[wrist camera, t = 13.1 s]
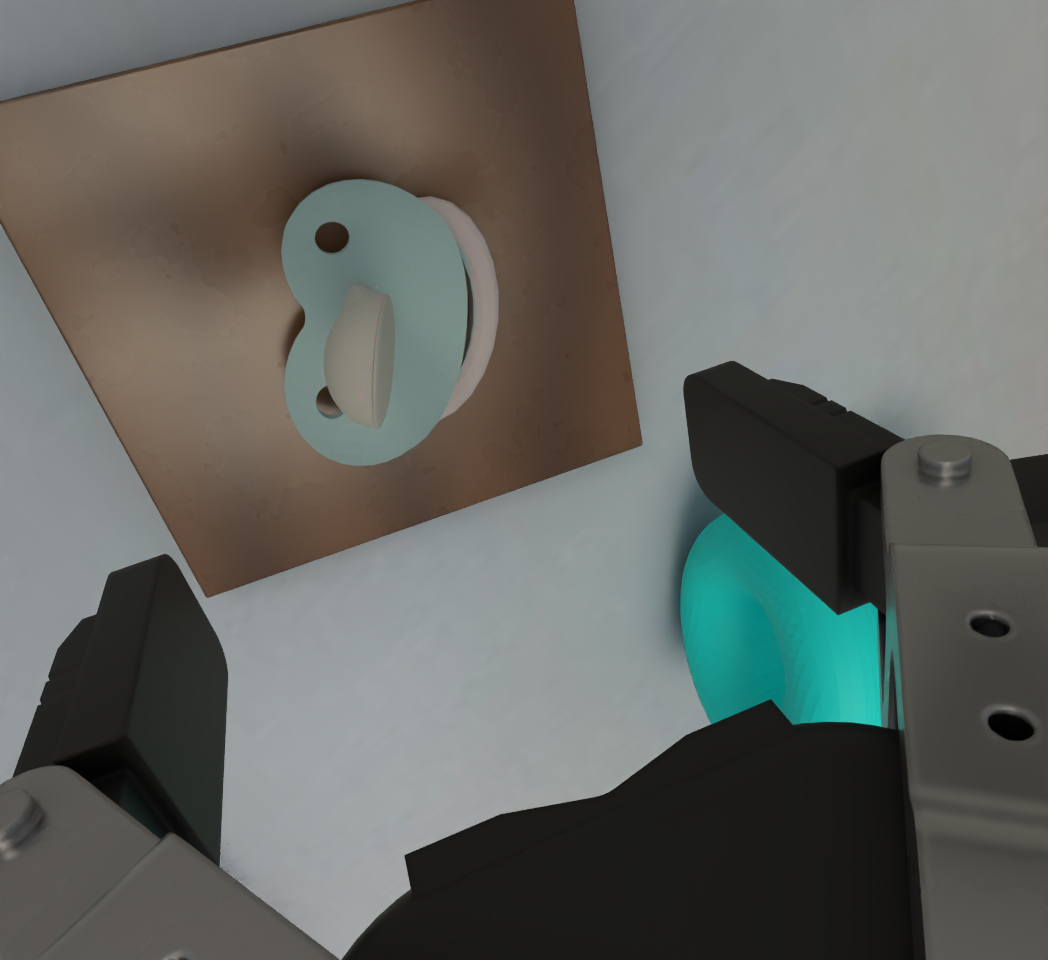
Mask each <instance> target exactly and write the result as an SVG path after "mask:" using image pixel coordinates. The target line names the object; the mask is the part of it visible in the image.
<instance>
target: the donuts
mask: <svg viewBox="0 0 1048 960" xmlns="http://www.w3.org/2000/svg"><path fill="white" fill-rule="evenodd" d="M680 618H681V629H682V637H683V641H684V649H685V653H686V657H687V662H688V665H689V669H690V673H691V676H692V679H693V683H694V686H695V688H696V690H697V693H698V697H699V699H700V701H701V704H702V706H703V707H704V710H705V712H706V715H707V717H708V719H709V721H710V723H711V724H714V723H716V722H718V721H721V720H723V719H725V718H728V717H730V716H732V715H735V714H737V713H739V712H742V711H744V710H746V709H749V708H751V707H753V706H756V705H758V704H760V703H763V702H765V701H767V700H770V699H771V700H772V701H773V702H774V703H775V704H776V706H777V707H778V708H779V709H780V710H781V711H782V713H783V714H784V715H785V716H786V717H787V718H788V720H789V721H790V722H791V723H792V724H793V725H795V724H801V723H814V722H853V723H861V724H869V725H876V726H880V727H881V712H880V689H879V667H878V644H877V608H876V607H875V606H874V605H873V604H871V603H870V602H869V603H867V604H864V605H862V606H860V607H857V608H855V609H852V610H850V611H848V612H845V613H843V614H840V615H837V614H836V613H835V612H834V611H832V610H831V609H830V608H829V607H828V606H827V605H826V604H825V603H824V602H822V601H821V600H820V599H819V598H818V597H817V596H816V595H815V594H814V593H812V592H811V591H810V590H809V589H808V588H807V587H806V586H805V585H804V584H802V583H801V582H800V581H799V580H798V579H797V578H796V577H795V576H794V575H792V574H791V573H790V572H789V571H788V570H787V569H786V568H785V567H784V566H782V565H781V564H780V563H779V562H778V561H777V560H776V559H775V558H774V557H772V556H771V555H770V554H769V553H768V552H767V551H766V550H765V549H764V548H762V547H761V546H760V545H759V544H758V543H757V542H756V541H755V540H754V539H752V538H751V537H750V536H749V535H748V534H747V533H746V532H745V531H744V530H742V529H741V528H740V527H739V526H738V525H737V524H736V523H735V522H734V521H732V520H731V519H730V518H729V517H728V516H727V515H726V514H725V513H724V514H722V515H720V516H719V517H717V518H716V519H714V520H713V521H712V522H711V523H710V524H708V525H707V526H706V527H705V529H704V530H703V531H702V532H701V533H700V534H699V536H698V537H697V539H696V541H695V542H694V544H693V546H692V548H691V550H690V553H689V555H688V558H687V561H686V564H685V567H684V571H683V576H682V583H681V596H680Z"/></svg>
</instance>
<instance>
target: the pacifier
mask: <svg viewBox="0 0 1048 960" xmlns="http://www.w3.org/2000/svg"><path fill="white" fill-rule="evenodd" d="M327 222H337V223H340V224H342V225H344V226H345V227H346V229H347V231H348V234H349V239H348V243H347V245H346V246H345V247H344V248H343V249H342V250H341V251H338V252H335V253H329V252H325V251H323V250H321V249H320V248H319V247H318V246H317V244H316V243H315V233H316V231H317V229H318V228H319V227H320V226H321V225H322V224H324V223H327ZM281 254H282V264H283V269H284V273H285V276H286V279H287V283H288V285H289V287H290V288H291V290H292V293H293V295H294V297H295V298H296V300H297V301H298V302H299V304H300V305H301V306H302V307H303V309H304V312H305V324H304V327H303V328H302V330H301V331H300V333H299V334H298V336H297V337H296V339H295V341H294V344H293V346H292V348H291V351H290V353H289V356H288V360H287V364H286V368H285V381H284V389H285V397H286V403H287V408H288V411H289V413H290V416H291V418H292V421H293V423H294V425H295V427H296V428H297V430H298V431H299V433H300V434H301V436H302V437H303V439H304V440H305V441H306V442H307V443H309V444H310V445H311V446H312V447H313V448H314V449H315V450H316V451H317V452H319V453H320V454H322V455H323V456H325V457H327V458H328V459H331V460H334V461H336V462H339V463H341V464H346V465H353V466H366V465H376V464H380V463H384V462H387V461H389V460H391V459H394V458H396V457H398V456H401V455H402V454H404V453H405V452H407V451H408V450H409V449H411V448H413V447H415V446H416V445H417V444H418V443H420V442H421V441H422V440H423V439H424V438H426V437H427V436H428V434H429V433H430V432H431V430H432V429H433V428H434V426H435V425H436V424H437V423H438V421H439V420H441V419H443V418H445V417H446V416H448V415H450V414H452V413H453V412H455V411H456V410H457V409H458V408H459V407H460V406H461V405H462V404H463V403H464V402H465V401H466V400H467V399H468V398H469V397H470V396H471V395H472V393H473V391H474V390H475V388H476V386H477V385H478V383H479V381H480V380H481V378H482V376H483V375H484V373H485V370H486V367H487V364H488V362H489V359H490V356H491V354H492V351H493V348H494V342H495V336H496V331H497V325H498V309H499V290H498V284H497V278H496V273H495V267H494V262H493V259H492V257H491V254H490V251H489V249H488V246H487V244H486V241H485V238H484V236H483V235H482V234H481V232H480V231H479V229H478V228H477V226H476V225H475V223H474V222H473V221H472V219H471V218H470V216H468V215H467V214H466V213H465V212H463V211H462V210H461V209H460V208H458V207H457V206H456V205H454V204H453V203H452V202H449V201H446V200H442V199H439V198H436V197H432V196H428V197H421V198H417V197H415V196H414V195H412V194H411V193H409V192H407V191H405V190H402V189H400V188H398V187H396V186H394V185H390V184H387V183H383V182H380V181H374V180H365V179H354V180H342V181H338V182H334V183H330V184H327V185H325V186H323V187H321V188H319V189H317V190H316V191H314V192H312V193H311V194H309V195H308V196H307V197H306V198H305V199H304V200H303V201H301V202H300V203H299V204H298V206H297V207H296V209H295V210H294V212H293V213H292V215H291V216H290V218H289V220H288V222H287V224H286V226H285V230H284V234H283V240H282V248H281ZM466 283H467V286H466ZM467 289H468V294H467ZM468 295H469V319H468V325H467V313H468ZM466 331H467V332H466ZM325 386H327V387H328V390H329V392H330V394H331V396H332V398H333V400H334V402H335V403H336V405H337V406H338V407H339V409H340V410H341V412H339V413H338V414H335V415H327V414H325V413H323V412H321V411H320V410H319V408H318V407H317V405H316V397H317V395H318V392H319V391H320V390H321V389H322V388H323V387H325Z"/></svg>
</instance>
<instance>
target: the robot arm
mask: <svg viewBox="0 0 1048 960" xmlns="http://www.w3.org/2000/svg"><path fill="white" fill-rule="evenodd" d="M683 392H684V401H685V410H686V418H687V426H688V435H689V443H690V452H691V460H692V466H693V470H694V474H695V476H696V479H697V481H698V484H699V486H700V488H701V489H702V491H703V492H704V494H705V495H706V497H707V498H708V499H709V500H710V501H711V502H712V503H714V504H715V505H716V506H717V507H718V508H719V509H720V510H721V511H722V512H724V513H725V514H726V515H727V516H728V517H729V518H730V519H731V520H732V521H734V522H735V523H736V524H737V525H738V526H739V527H740V528H741V529H742V530H744V531H745V532H746V533H747V534H748V535H749V536H750V537H751V538H752V539H754V540H755V541H756V542H757V543H758V544H759V545H760V546H761V547H762V548H764V549H765V550H766V551H767V552H768V553H769V554H770V555H771V556H772V557H774V558H775V559H776V560H777V561H778V562H779V563H780V564H781V565H782V566H784V567H785V568H786V569H787V570H788V571H789V572H790V573H791V574H792V575H794V576H795V577H796V578H797V579H798V580H799V581H800V582H801V583H802V584H804V585H805V586H806V587H807V588H808V589H809V590H810V591H811V592H812V593H814V594H815V595H816V596H817V597H818V598H819V599H820V600H821V601H822V602H824V603H825V604H826V605H827V606H828V607H829V608H830V609H831V610H832V611H834V612H835V613H836V614H837V615H840V614H843V613H845V612H848V611H850V610H852V609H855V608H857V607H860V606H862V605H864V604H867V603H869V602H870V603H871V604H873V605H874V606H875V607H876V608H877V644H878V667H879V689H880V712H881V727H880V726H876V725H869V724H861V723H853V722H814V723H801V724H795V725H793V724H792V723H791V722H790V721H789V720H788V718H787V717H786V716H785V715H784V714H783V713H782V711H781V710H780V709H779V708H778V707H777V706H776V704H775V703H774V702H773V701H772V700H771V699H770V700H767V701H765V702H763V703H760V704H758V705H756V706H753V707H751V708H749V709H746V710H744V711H742V712H739V713H737V714H735V715H732V716H730V717H728V718H725V719H723V720H721V721H718V722H716V723H714V724H711V725H709V726H706V727H704V728H702V729H699V730H697V731H695V732H692V733H690V734H688V735H686V736H685V737H683V738H682V739H680V740H679V741H678V742H676V743H675V744H674V745H672V746H671V747H670V748H668V749H667V750H666V751H664V752H663V753H662V754H660V755H659V756H658V757H656V758H655V759H654V760H652V761H651V762H650V763H648V764H647V765H646V766H644V767H643V768H642V769H640V770H639V771H638V772H636V773H635V774H634V775H632V776H631V777H630V778H628V779H627V780H626V781H624V782H623V783H622V784H620V785H619V786H618V787H616V788H615V789H613V790H612V791H610V792H609V793H606V794H604V795H601V796H598V797H593V798H588V799H582V800H577V801H571V802H566V803H560V804H555V805H549V806H544V807H538V808H533V809H527V810H522V811H516V812H511V813H506V814H500V815H498V816H495V817H493V818H491V819H488V820H486V821H484V822H481V823H479V824H477V825H474V826H472V827H470V828H467V829H465V830H463V831H460V832H458V833H456V834H453V835H451V836H449V837H446V838H444V839H442V840H439V841H437V842H435V843H432V844H430V845H427V846H425V847H423V848H420V849H418V850H416V851H413V852H411V853H409V854H406V855H405V860H406V866H407V871H408V876H409V881H410V886H411V889H410V890H409V891H408V892H406V893H405V894H404V895H402V896H401V897H400V898H398V899H397V900H396V901H395V902H394V903H393V904H391V905H390V906H389V907H388V908H387V909H386V910H385V911H384V912H383V913H381V914H380V915H379V916H378V917H377V918H376V919H375V920H374V921H373V922H372V923H371V924H370V926H369V927H368V928H367V929H366V930H365V931H364V932H363V933H362V934H361V935H360V937H359V938H358V939H357V940H356V941H355V942H354V944H353V945H352V946H351V948H350V949H349V950H348V952H347V953H346V954H345V956H344V957H343V958H342V960H1048V454H1045V455H1038V456H1032V457H1025V458H1019V459H1012V460H1009V458H1008V457H1007V455H1006V454H1005V453H1004V452H1003V451H1001V450H1000V449H998V448H997V447H995V446H993V445H991V444H989V443H986V442H984V441H981V440H978V439H974V438H970V437H964V436H957V435H927V436H920V437H915V438H911V439H907V440H904V439H903V438H901V437H899V436H897V435H895V434H893V433H891V432H890V431H888V430H886V429H884V428H882V427H880V426H878V425H877V424H875V423H873V422H871V421H869V420H867V419H865V418H864V417H862V416H860V415H858V414H856V413H854V412H852V411H848V412H847V411H846V408H845V407H843V406H841V405H839V404H837V403H836V402H834V401H832V400H831V401H828V400H827V398H826V397H824V396H823V395H821V394H819V393H817V392H815V391H813V390H811V389H810V388H808V387H806V386H804V385H800V384H795V383H790V382H785V381H781V380H776V379H770V380H767V379H766V378H764V377H762V376H760V375H759V374H757V373H755V372H753V371H751V370H750V369H748V368H746V367H744V366H743V365H741V364H739V363H737V362H735V361H729V362H726V363H723V364H720V365H717V366H714V367H712V368H709V369H706V370H703V371H700V372H697V373H694V374H691V375H688V376H687V377H686V379H685V381H684V387H683ZM48 677H49V680H50V681H48V682H46V684H45V687H44V690H43V692H42V695H41V698H40V701H41V705H38V707H37V709H36V712H35V715H34V718H33V721H32V724H31V726H30V729H29V732H28V735H27V738H26V741H25V743H24V746H23V749H22V752H21V755H20V757H19V760H18V763H17V766H16V769H15V772H14V774H13V777H12V778H11V779H9V780H7V781H5V782H4V783H2V784H1V785H0V960H339V959H338V958H337V957H335V956H334V955H333V954H331V953H330V952H329V951H328V950H326V949H325V948H324V947H322V946H321V945H320V944H318V943H317V942H316V941H315V940H313V939H312V938H311V937H309V936H308V935H307V934H305V933H304V932H303V931H302V930H300V929H299V928H298V927H296V926H295V925H294V924H292V923H291V922H290V921H289V920H287V919H286V918H285V917H283V916H282V915H281V914H279V913H278V912H277V911H276V910H274V909H273V908H272V907H270V906H269V905H268V904H266V903H265V902H264V901H263V900H261V899H260V898H259V897H257V896H256V895H255V894H253V893H252V892H251V891H250V890H248V889H247V888H246V887H244V886H243V885H242V884H240V883H239V882H238V881H237V880H235V879H234V878H233V877H231V876H230V875H229V874H227V873H226V872H225V871H224V870H222V869H221V868H220V867H219V864H220V842H221V820H222V798H223V777H224V755H225V733H226V711H227V690H228V670H227V664H226V659H225V656H224V652H223V649H222V646H221V644H220V641H219V639H218V637H217V635H216V633H215V631H214V629H213V628H212V626H211V624H210V622H209V620H208V619H207V617H206V615H205V613H204V612H203V610H202V608H201V606H200V604H199V603H198V601H197V599H196V597H195V595H194V594H193V592H192V590H191V588H190V586H189V585H188V583H187V581H186V579H185V578H184V576H183V574H182V572H181V570H180V569H179V567H178V565H177V564H176V562H175V561H174V560H173V559H172V558H171V557H170V556H169V555H167V554H163V555H160V556H157V557H154V558H152V559H149V560H146V561H143V562H140V563H137V564H134V565H131V566H128V567H125V568H122V569H120V570H117V571H114V572H111V573H110V574H109V576H108V578H107V581H106V585H105V588H104V591H103V594H102V598H101V601H100V604H99V608H98V611H97V614H96V615H93V616H90V617H87V618H85V619H82V620H81V621H80V622H79V624H78V625H77V626H76V627H75V629H74V630H73V631H72V632H71V633H70V635H69V636H68V637H67V638H66V639H65V641H64V642H63V643H62V644H61V646H60V647H59V648H58V650H57V653H56V656H55V658H54V661H53V664H52V667H51V670H50V673H49V675H48Z"/></svg>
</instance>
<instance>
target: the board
mask: <svg viewBox="0 0 1048 960" xmlns="http://www.w3.org/2000/svg"><path fill="white" fill-rule="evenodd" d="M354 179H365V180H374V181H380V182H383V183H387V184H390V185H394V186H396V187H398V188H400V189H402V190H405V191H407V192H409V193H411V194H412V195H414V196H415V197H417V198H421V197H428V196H432V197H436V198H439V199H442V200H446V201H449V202H452V203H453V204H454V205H456V206H457V207H458V208H460V209H461V210H462V211H463V212H465V213H466V214H467V215H468V216H470V218H471V219H472V221H473V222H474V223H475V225H476V226H477V228H478V229H479V231H480V232H481V234H482V235H483V236H484V238H485V241H486V244H487V246H488V249H489V251H490V254H491V257H492V259H493V262H494V267H495V273H496V278H497V284H498V290H499V309H498V325H497V331H496V336H495V342H494V348H493V351H492V354H491V356H490V359H489V362H488V364H487V367H486V370H485V373H484V375H483V376H482V378H481V380H480V381H479V383H478V385H477V386H476V388H475V390H474V391H473V393H472V395H471V396H470V397H469V398H468V399H467V400H466V401H465V402H464V403H463V404H462V405H461V406H460V407H459V408H458V409H457V410H456V411H455V412H453V413H452V414H450V415H448V416H446V417H445V418H443V419H441V420H439V421H438V423H437V424H436V425H435V426H434V428H433V429H432V430H431V432H430V433H429V434H428V436H427V437H426V438H424V439H423V440H422V441H421V442H420V443H418V444H417V445H416V446H415V447H413V448H411V449H409V450H408V451H407V452H405V453H404V454H402V455H401V456H398V457H396V458H394V459H391V460H389V461H387V462H384V463H380V464H376V465H366V466H353V465H346V464H341V463H339V462H336V461H334V460H331V459H328V458H327V457H325V456H323V455H322V454H320V453H319V452H317V451H316V450H315V449H314V448H313V447H312V446H311V445H310V444H309V443H307V442H306V441H305V440H304V439H303V437H302V436H301V434H300V433H299V431H298V430H297V428H296V427H295V425H294V423H293V421H292V418H291V416H290V413H289V411H288V408H287V403H286V397H285V389H284V381H285V368H286V364H287V360H288V356H289V353H290V351H291V348H292V346H293V344H294V341H295V339H296V337H297V336H298V334H299V333H300V331H301V330H302V328H303V327H304V324H305V312H304V309H303V307H302V306H301V305H300V304H299V302H298V301H297V300H296V298H295V297H294V295H293V293H292V290H291V288H290V287H289V285H288V283H287V279H286V276H285V273H284V269H283V264H282V254H281V248H282V240H283V234H284V230H285V226H286V224H287V222H288V220H289V218H290V216H291V215H292V213H293V212H294V210H295V209H296V207H297V206H298V204H299V203H300V202H301V201H303V200H304V199H305V198H306V197H307V196H308V195H309V194H311V193H312V192H314V191H316V190H317V189H319V188H321V187H323V186H325V185H327V184H330V183H334V182H338V181H342V180H354ZM0 224H1V225H2V227H3V229H4V231H5V233H6V235H7V236H8V238H9V240H10V242H11V244H12V245H13V247H14V249H15V251H16V253H17V254H18V256H19V258H20V260H21V262H22V264H23V265H24V267H25V269H26V271H27V273H28V274H29V276H30V278H31V280H32V282H33V284H34V285H35V287H36V289H37V291H38V293H39V294H40V296H41V298H42V300H43V302H44V304H45V305H46V307H47V309H48V311H49V313H50V314H51V316H52V318H53V320H54V322H55V324H56V325H57V327H58V329H59V331H60V333H61V334H62V336H63V338H64V340H65V342H66V344H67V345H68V347H69V349H70V351H71V353H72V354H73V356H74V358H75V360H76V362H77V364H78V365H79V367H80V369H81V371H82V373H83V374H84V376H85V378H86V380H87V382H88V384H89V385H90V387H91V389H92V391H93V393H94V394H95V396H96V398H97V400H98V402H99V404H100V405H101V407H102V409H103V411H104V413H105V414H106V416H107V418H108V420H109V422H110V424H111V425H112V427H113V429H114V431H115V433H116V434H117V436H118V438H119V440H120V442H121V444H122V445H123V447H124V449H125V451H126V453H127V454H128V456H129V458H130V460H131V462H132V464H133V465H134V467H135V469H136V471H137V473H138V474H139V476H140V478H141V480H142V482H143V484H144V485H145V487H146V489H147V491H148V493H149V494H150V496H151V498H152V500H153V502H154V504H155V505H156V507H157V509H158V511H159V513H160V514H161V516H162V518H163V520H164V522H165V524H166V525H167V527H168V529H169V531H170V533H171V534H172V536H173V538H174V540H175V542H176V544H177V545H178V547H179V549H180V551H181V553H182V554H183V556H184V558H185V560H186V562H187V563H188V565H189V567H190V569H191V571H192V573H193V574H194V576H195V578H196V580H197V582H198V583H199V585H200V587H201V589H202V591H203V593H204V594H205V596H206V597H207V598H209V597H212V596H214V595H217V594H220V593H223V592H226V591H229V590H231V589H234V588H237V587H240V586H243V585H246V584H249V583H251V582H254V581H257V580H260V579H263V578H266V577H268V576H271V575H274V574H277V573H280V572H283V571H286V570H288V569H291V568H294V567H297V566H300V565H303V564H305V563H308V562H311V561H314V560H317V559H320V558H323V557H325V556H328V555H331V554H334V553H337V552H340V551H343V550H345V549H348V548H351V547H354V546H357V545H360V544H362V543H365V542H368V541H371V540H374V539H377V538H380V537H382V536H385V535H388V534H391V533H394V532H397V531H399V530H402V529H405V528H408V527H411V526H414V525H417V524H419V523H422V522H425V521H428V520H431V519H434V518H437V517H439V516H442V515H445V514H448V513H451V512H454V511H456V510H459V509H462V508H465V507H468V506H471V505H474V504H476V503H479V502H482V501H485V500H488V499H491V498H493V497H496V496H499V495H502V494H505V493H508V492H511V491H513V490H516V489H519V488H522V487H525V486H528V485H530V484H533V483H536V482H539V481H542V480H545V479H548V478H550V477H553V476H556V475H559V474H562V473H565V472H568V471H570V470H573V469H576V468H579V467H582V466H585V465H587V464H590V463H593V462H596V461H599V460H602V459H605V458H607V457H610V456H613V455H616V454H619V453H622V452H624V451H627V450H630V449H633V448H636V447H639V446H641V445H642V437H641V431H640V424H639V418H638V411H637V405H636V399H635V392H634V386H633V379H632V373H631V366H630V360H629V353H628V347H627V340H626V334H625V328H624V321H623V315H622V308H621V302H620V295H619V289H618V282H617V276H616V270H615V263H614V257H613V250H612V244H611V237H610V231H609V224H608V218H607V211H606V205H605V199H604V192H603V186H602V179H601V173H600V166H599V160H598V153H597V147H596V140H595V134H594V128H593V121H592V115H591V108H590V102H589V95H588V89H587V82H586V76H585V69H584V63H583V57H582V50H581V44H580V37H579V31H578V24H577V18H576V11H575V5H574V0H417V1H413V2H409V3H404V4H400V5H396V6H392V7H388V8H384V9H380V10H375V11H371V12H367V13H363V14H359V15H355V16H351V17H346V18H342V19H338V20H334V21H330V22H326V23H322V24H317V25H313V26H309V27H305V28H301V29H297V30H293V31H289V32H284V33H280V34H276V35H272V36H268V37H264V38H260V39H255V40H251V41H247V42H243V43H239V44H235V45H231V46H226V47H222V48H218V49H214V50H210V51H206V52H202V53H198V54H193V55H189V56H185V57H181V58H177V59H173V60H169V61H164V62H160V63H156V64H152V65H148V66H144V67H140V68H135V69H131V70H127V71H123V72H119V73H115V74H111V75H107V76H102V77H98V78H94V79H90V80H86V81H82V82H78V83H73V84H69V85H65V86H61V87H57V88H53V89H49V90H44V91H40V92H36V93H32V94H28V95H24V96H20V97H16V98H11V99H7V100H3V101H0ZM348 239H349V234H348V231H347V229H346V227H345V226H344V225H342V224H340V223H337V222H327V223H324V224H322V225H321V226H320V227H319V228H318V229H317V231H316V233H315V243H316V244H317V246H318V247H319V248H320V249H321V250H323V251H325V252H329V253H335V252H338V251H341V250H342V249H343V248H344V247H345V246H346V245H347V243H348ZM466 286H467V283H466ZM467 294H468V289H467ZM468 319H469V295H468V313H467V325H468ZM466 332H467V331H466ZM316 405H317V407H318V408H319V410H320V411H321V412H323V413H325V414H327V415H335V414H338V413H339V412H341V410H340V409H339V407H338V406H337V405H336V403H335V402H334V400H333V398H332V396H331V394H330V392H329V390H328V387H327V386H325V387H323V388H322V389H321V390H320V391H319V392H318V395H317V397H316Z"/></svg>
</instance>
